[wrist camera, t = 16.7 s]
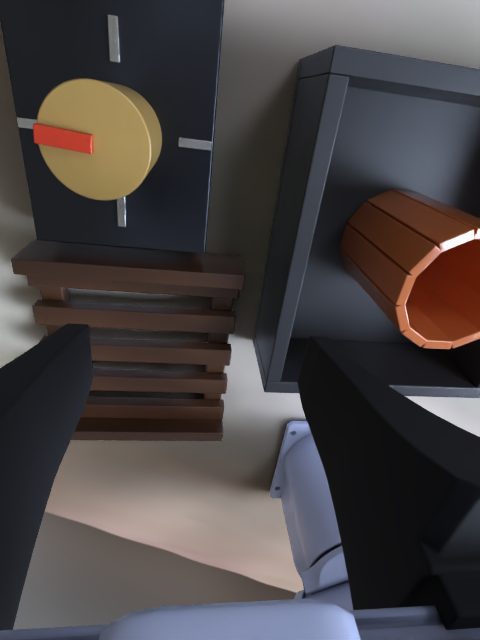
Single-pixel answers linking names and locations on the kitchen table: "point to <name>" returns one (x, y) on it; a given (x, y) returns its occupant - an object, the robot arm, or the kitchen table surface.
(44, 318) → the rack
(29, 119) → the black flat block
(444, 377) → the sink
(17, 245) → the kitchen table surface
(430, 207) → the cup
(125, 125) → the knob
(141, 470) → the kitchen table surface
